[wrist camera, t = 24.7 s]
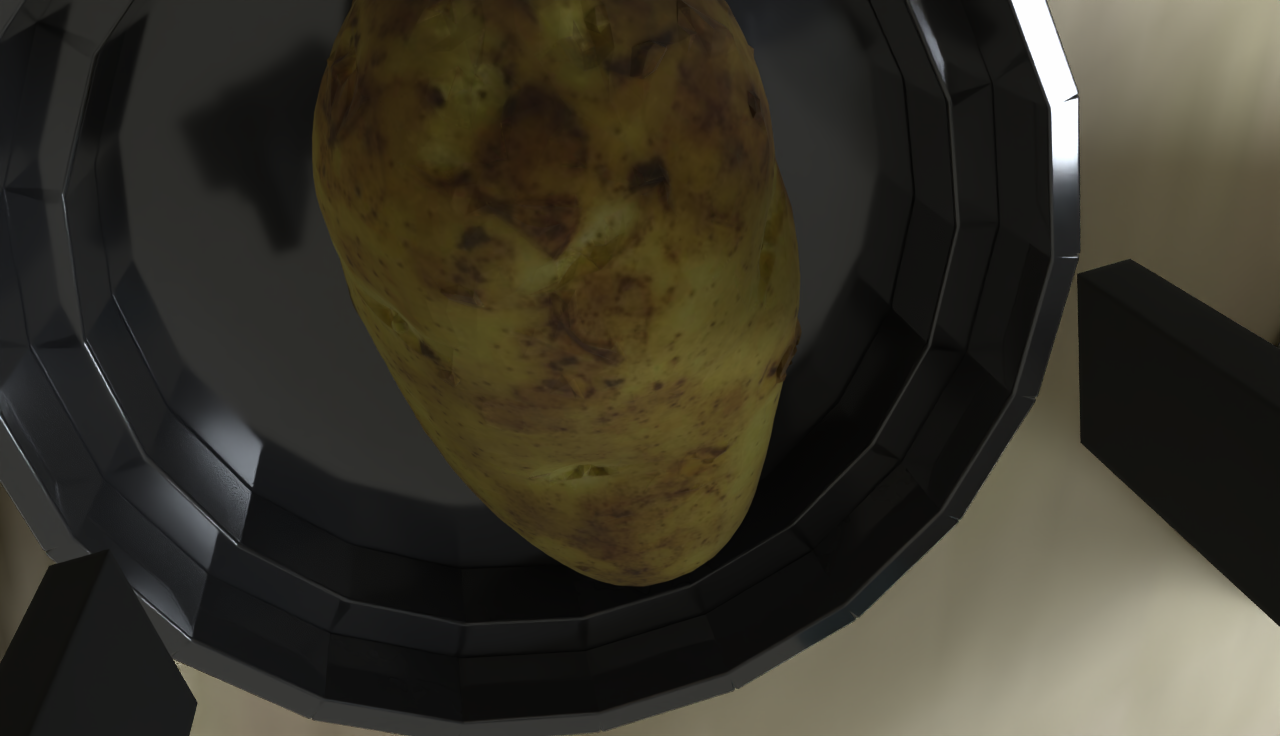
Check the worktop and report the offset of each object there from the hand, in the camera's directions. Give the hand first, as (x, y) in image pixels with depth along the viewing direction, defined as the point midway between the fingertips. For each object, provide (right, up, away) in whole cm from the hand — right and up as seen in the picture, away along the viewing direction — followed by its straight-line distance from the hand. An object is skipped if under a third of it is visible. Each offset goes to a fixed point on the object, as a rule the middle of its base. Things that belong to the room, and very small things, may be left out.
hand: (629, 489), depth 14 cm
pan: (-2, +4, +8) cm, 9 cm away
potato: (-2, +4, +8) cm, 9 cm away
